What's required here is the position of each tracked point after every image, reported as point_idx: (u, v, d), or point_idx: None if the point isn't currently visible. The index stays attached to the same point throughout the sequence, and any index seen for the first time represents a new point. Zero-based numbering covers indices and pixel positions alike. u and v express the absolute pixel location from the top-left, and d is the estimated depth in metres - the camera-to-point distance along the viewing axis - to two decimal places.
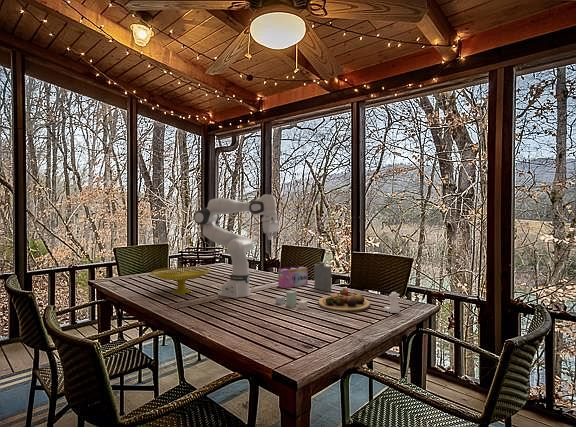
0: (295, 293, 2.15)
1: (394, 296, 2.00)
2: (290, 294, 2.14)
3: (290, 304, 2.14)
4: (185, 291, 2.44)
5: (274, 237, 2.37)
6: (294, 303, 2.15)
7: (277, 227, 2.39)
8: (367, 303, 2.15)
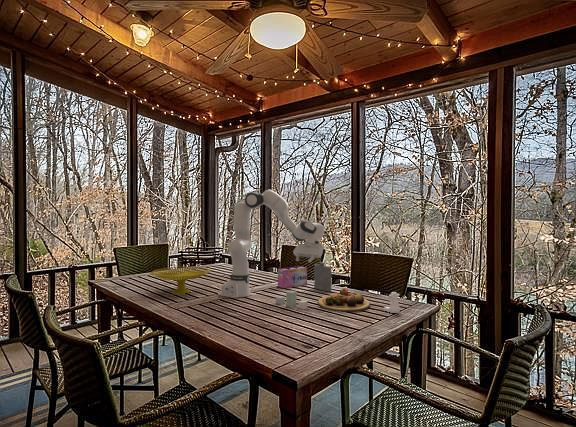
0: (295, 293, 2.15)
1: (394, 296, 2.00)
2: (290, 294, 2.14)
3: (290, 304, 2.14)
4: (185, 291, 2.44)
5: (298, 259, 2.28)
6: (294, 303, 2.15)
7: None
8: (367, 303, 2.15)
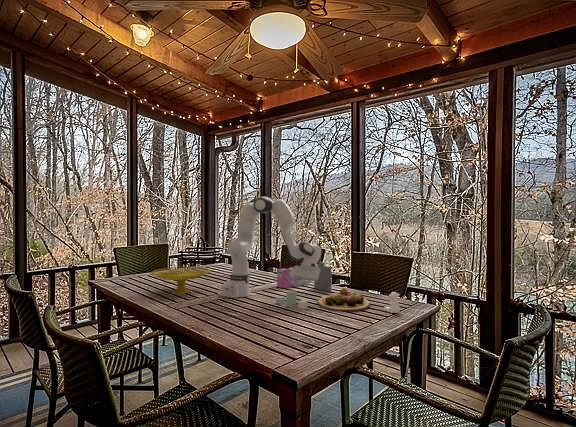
0: (295, 293, 2.15)
1: (394, 296, 2.00)
2: (290, 294, 2.14)
3: (290, 304, 2.14)
4: (185, 291, 2.44)
5: (294, 282, 2.25)
6: (294, 303, 2.15)
7: None
8: (366, 303, 2.15)
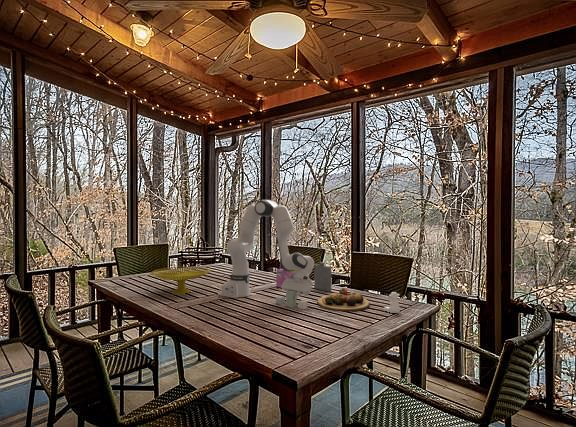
0: (295, 293, 2.15)
1: (394, 296, 2.00)
2: (290, 294, 2.14)
3: (290, 304, 2.14)
4: (185, 291, 2.44)
5: None
6: (294, 303, 2.15)
7: None
8: (366, 302, 2.16)
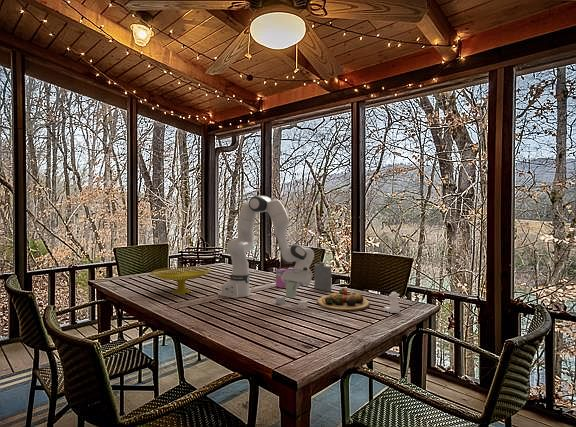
0: (295, 284, 2.15)
1: (394, 296, 2.00)
2: (290, 285, 2.14)
3: (290, 295, 2.14)
4: (185, 291, 2.44)
5: None
6: (294, 294, 2.15)
7: None
8: (366, 302, 2.16)
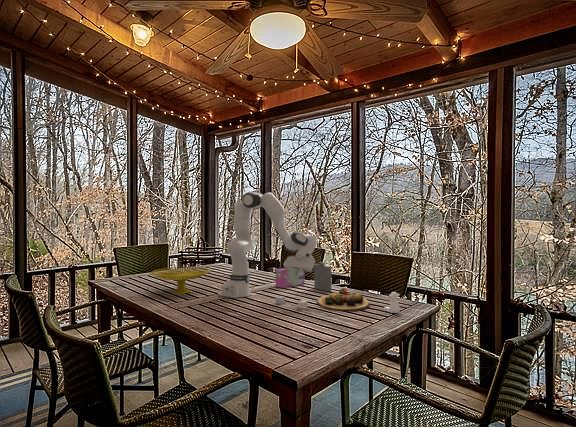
0: (297, 270, 2.17)
1: (394, 296, 2.00)
2: (292, 271, 2.15)
3: (292, 281, 2.15)
4: (185, 291, 2.44)
5: None
6: (296, 280, 2.17)
7: None
8: (366, 302, 2.16)
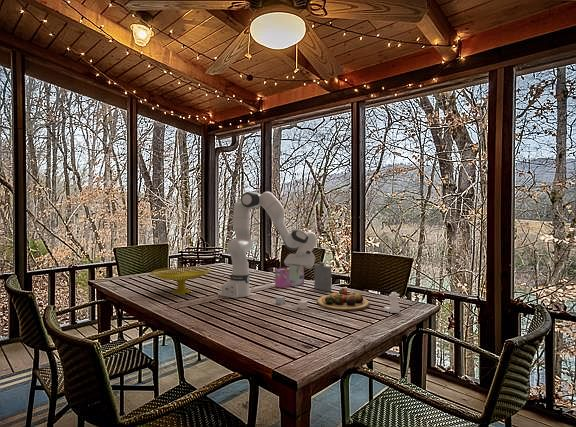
0: (298, 267, 2.18)
1: (394, 296, 2.00)
2: (293, 268, 2.16)
3: (293, 278, 2.16)
4: (185, 291, 2.44)
5: None
6: (297, 277, 2.17)
7: None
8: (366, 302, 2.17)
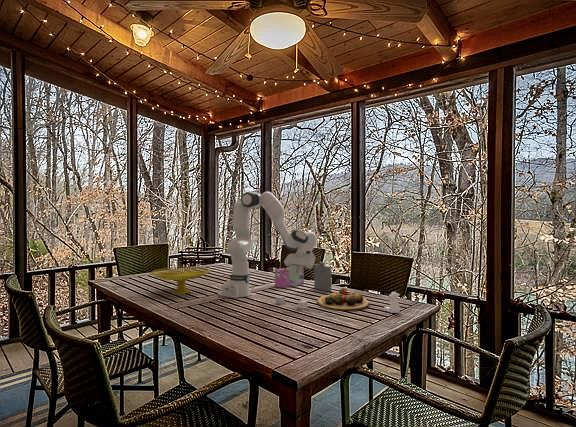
0: (298, 267, 2.18)
1: (394, 296, 2.00)
2: (293, 268, 2.16)
3: (293, 278, 2.16)
4: (185, 291, 2.44)
5: None
6: (297, 277, 2.17)
7: None
8: (366, 302, 2.17)
